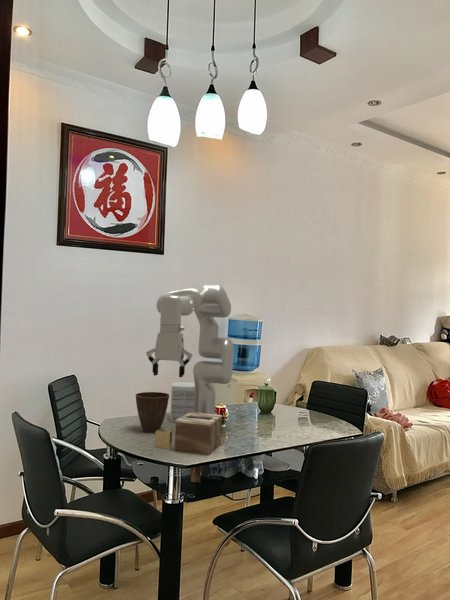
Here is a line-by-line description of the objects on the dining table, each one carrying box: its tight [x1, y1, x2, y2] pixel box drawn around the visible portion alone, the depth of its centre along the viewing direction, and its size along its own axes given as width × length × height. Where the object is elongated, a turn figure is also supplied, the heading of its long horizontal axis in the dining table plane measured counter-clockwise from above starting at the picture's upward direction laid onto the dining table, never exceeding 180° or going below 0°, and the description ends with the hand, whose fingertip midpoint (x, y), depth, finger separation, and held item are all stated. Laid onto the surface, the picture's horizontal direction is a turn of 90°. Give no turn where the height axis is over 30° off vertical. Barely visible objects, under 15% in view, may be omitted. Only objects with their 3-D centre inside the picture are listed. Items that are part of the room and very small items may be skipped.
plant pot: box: [135, 391, 170, 433], centre depth 228 cm, size 15×15×16 cm
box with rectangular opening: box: [174, 412, 223, 456], centre depth 204 cm, size 16×14×12 cm
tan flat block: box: [154, 429, 173, 450], centre depth 203 cm, size 2×6×6 cm, turn 74°
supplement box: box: [170, 381, 195, 423], centre depth 252 cm, size 13×13×18 cm
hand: (168, 375), depth 188 cm, fingers open, 9 cm apart
